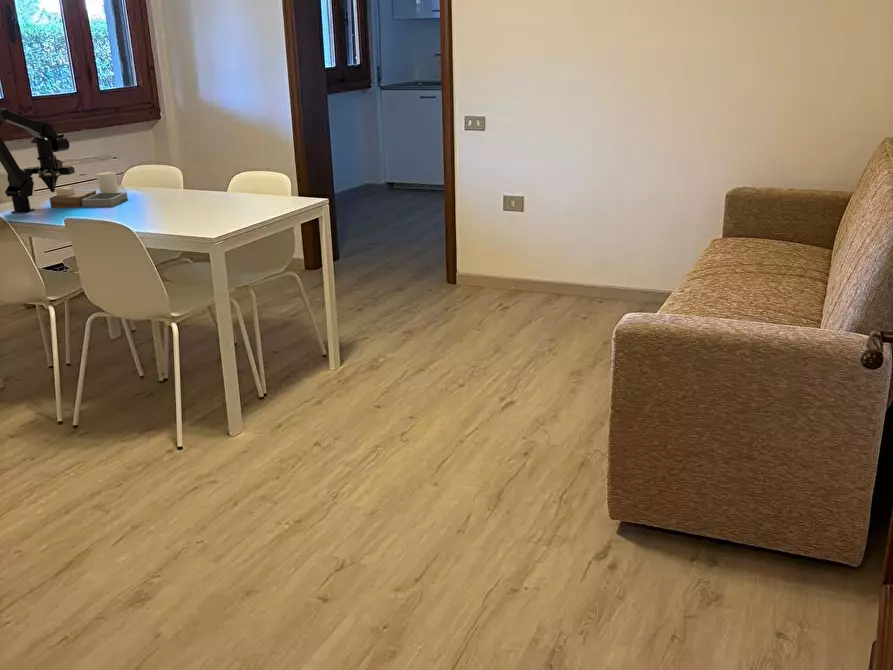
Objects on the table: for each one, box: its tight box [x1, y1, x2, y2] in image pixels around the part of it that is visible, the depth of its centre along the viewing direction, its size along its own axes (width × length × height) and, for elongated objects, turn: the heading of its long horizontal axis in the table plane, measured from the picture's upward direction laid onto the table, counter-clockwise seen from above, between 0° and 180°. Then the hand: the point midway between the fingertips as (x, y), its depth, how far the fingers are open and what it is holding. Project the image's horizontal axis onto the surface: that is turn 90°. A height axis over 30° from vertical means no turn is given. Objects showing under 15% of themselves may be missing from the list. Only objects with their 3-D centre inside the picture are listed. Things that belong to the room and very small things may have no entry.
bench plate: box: [49, 190, 97, 209], centre depth 341 cm, size 16×12×4 cm
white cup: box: [96, 171, 119, 193], centre depth 355 cm, size 8×8×10 cm
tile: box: [55, 186, 75, 196], centre depth 340 cm, size 5×5×2 cm
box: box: [82, 191, 128, 208], centre depth 341 cm, size 16×12×3 cm
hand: (53, 192), depth 340 cm, fingers closed
